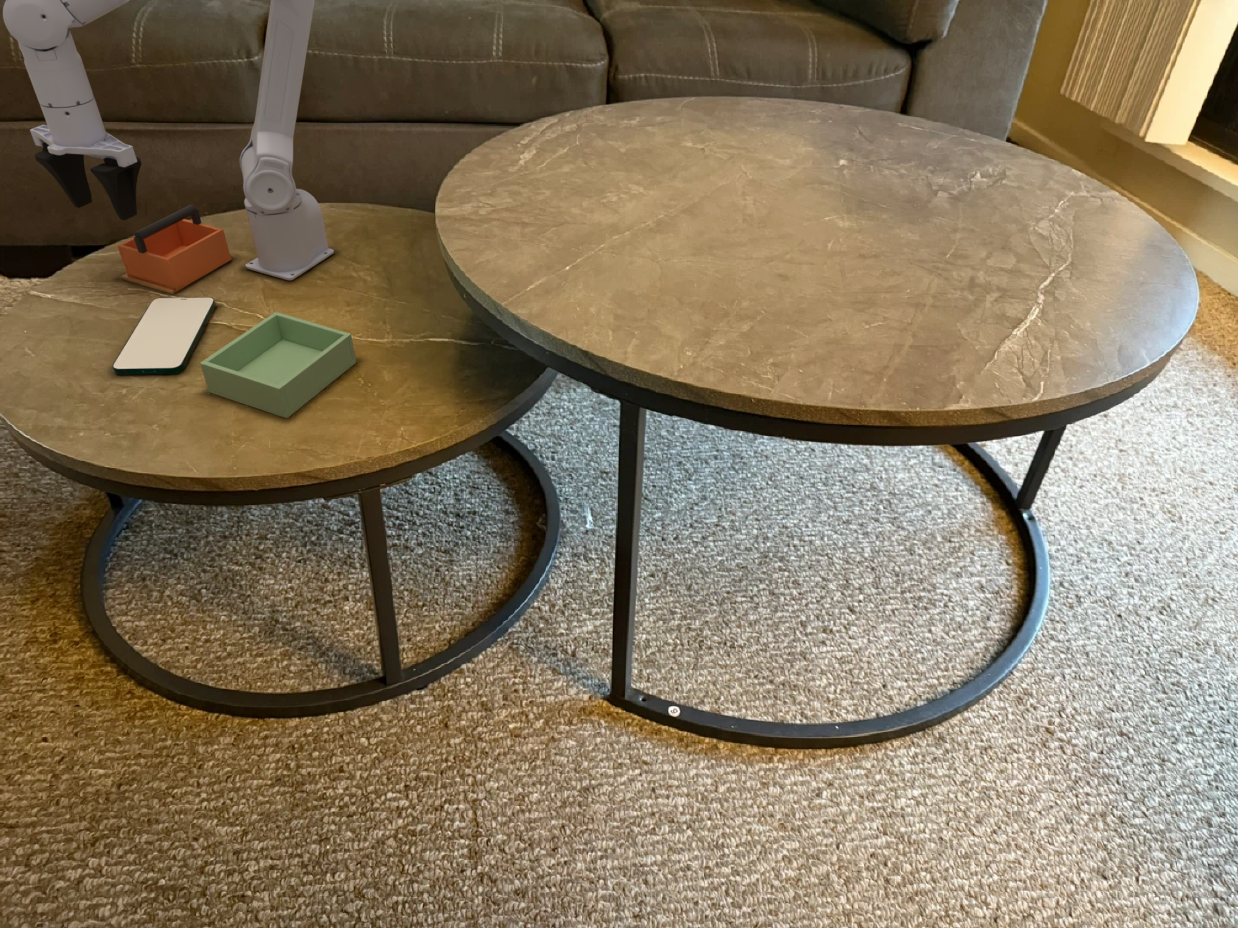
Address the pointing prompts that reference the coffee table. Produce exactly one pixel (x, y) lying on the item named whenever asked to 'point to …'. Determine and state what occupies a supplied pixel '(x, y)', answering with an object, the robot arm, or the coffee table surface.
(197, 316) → the smartphone
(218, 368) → the green tray
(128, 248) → the terracotta tote
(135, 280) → the cork pad
